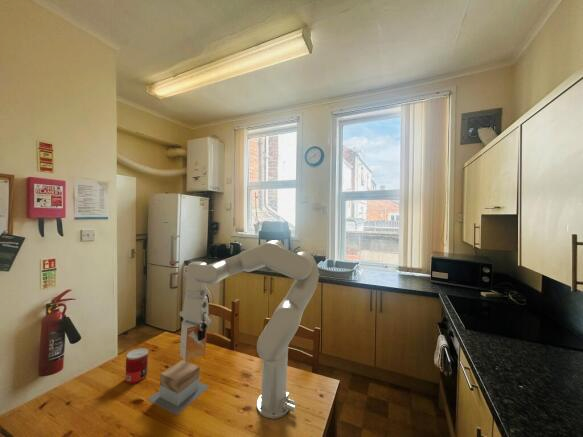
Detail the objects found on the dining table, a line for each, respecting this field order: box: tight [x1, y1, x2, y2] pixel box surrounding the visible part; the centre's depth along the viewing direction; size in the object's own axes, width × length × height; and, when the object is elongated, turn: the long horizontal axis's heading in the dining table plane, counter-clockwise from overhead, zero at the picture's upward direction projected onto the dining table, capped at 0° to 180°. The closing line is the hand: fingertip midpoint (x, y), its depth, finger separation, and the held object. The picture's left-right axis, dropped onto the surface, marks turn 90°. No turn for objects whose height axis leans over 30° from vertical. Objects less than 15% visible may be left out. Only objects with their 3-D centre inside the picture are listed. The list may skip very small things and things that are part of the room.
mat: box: [146, 381, 210, 416], centre depth 93 cm, size 16×16×1 cm
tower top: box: [159, 359, 200, 394], centre depth 93 cm, size 10×10×4 cm
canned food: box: [124, 347, 149, 385], centre depth 101 cm, size 8×8×11 cm
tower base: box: [159, 377, 200, 406], centre depth 93 cm, size 10×10×4 cm
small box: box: [179, 321, 208, 362], centre depth 94 cm, size 8×6×13 cm
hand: (193, 336), depth 94 cm, fingers closed on small box, 8 cm apart
